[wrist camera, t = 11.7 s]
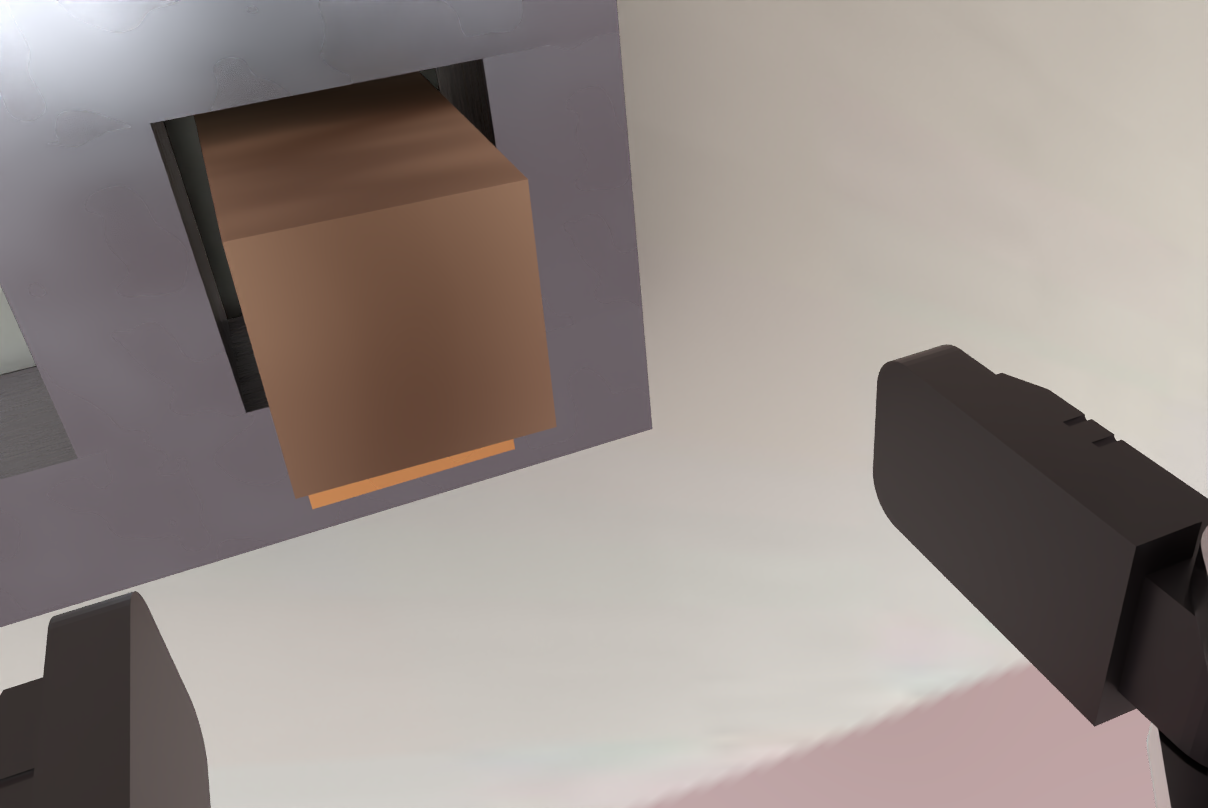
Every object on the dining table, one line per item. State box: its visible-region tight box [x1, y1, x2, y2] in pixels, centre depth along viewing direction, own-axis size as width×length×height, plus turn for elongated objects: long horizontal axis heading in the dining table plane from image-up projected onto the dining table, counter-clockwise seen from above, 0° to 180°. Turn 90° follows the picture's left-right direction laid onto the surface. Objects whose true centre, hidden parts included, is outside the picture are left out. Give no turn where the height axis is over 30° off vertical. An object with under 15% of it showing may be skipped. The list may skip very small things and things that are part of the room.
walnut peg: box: [194, 71, 557, 499], centre depth 18 cm, size 4×4×8 cm
